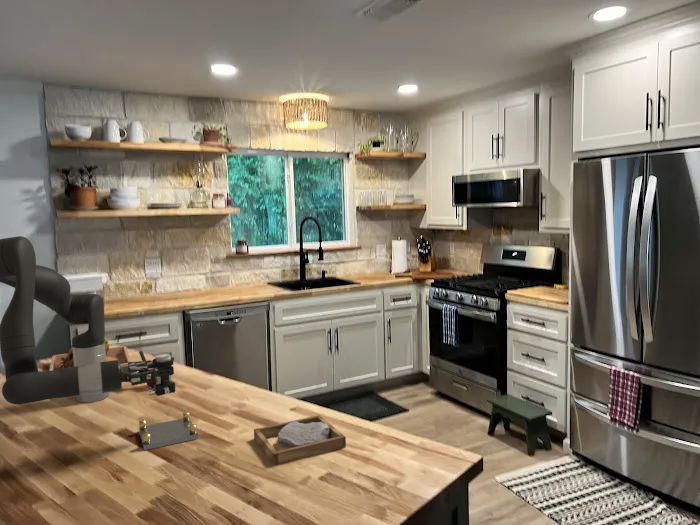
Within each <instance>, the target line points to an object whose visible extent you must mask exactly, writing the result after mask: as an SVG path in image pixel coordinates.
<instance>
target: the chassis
mask: <svg viewBox="0 0 700 525" xmlns="http://www.w3.org/2000/svg"><path fill="white" fill-rule="evenodd" d="M190 413H191V412H190V411H184V412H182V418H179V419H174V420H169V421H168V420H167V421H163V422H158V423H151V424H148V425H147V420H146V419H141V420H139V421H138V432H139V435H140V436H139V437H140V440H141V443H142V447H143V450H144V451H147V450H151V449H152V450H153V449H158V448H162V447H165V446H170V445H175V444H180V443H186V442H189V441H194V440H198V439H199V433H198V427H197V423H193V422H192V420H191V415H190Z"/></svg>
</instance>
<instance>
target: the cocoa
mask: <svg viewBox="0 0 700 525" xmlns="http://www.w3.org/2000/svg"><path fill="white" fill-rule="evenodd" d="M138 354H139V356H140V358H141V361H147V359H146V356H145V355H144V352H143V351H142V350H139V351H138ZM149 376H151V374H149ZM156 382H157V379H156V381H152V382H147V383H146V385H147V387H148V388H150V389H152V390H154V385H155V384H156Z"/></svg>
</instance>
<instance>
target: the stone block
mask: <svg viewBox="0 0 700 525" xmlns="http://www.w3.org/2000/svg"><path fill="white" fill-rule="evenodd" d="M291 421H292V422H291V423H289V424H288V425H286V426H285V427H283V428H282V429H281V431H280V432H279V434H278V435H277V444H278V445H280V446H284V447H287V448H293V447H297V446H302V445H306V444H310V443H314V442H318V441H322V440H327V439H330V437H329V435H330V429H329V427H328V425H327V424H324V423H322V422H312V423H309V424H303V423H299V422H297V421H294V420H291Z"/></svg>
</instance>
